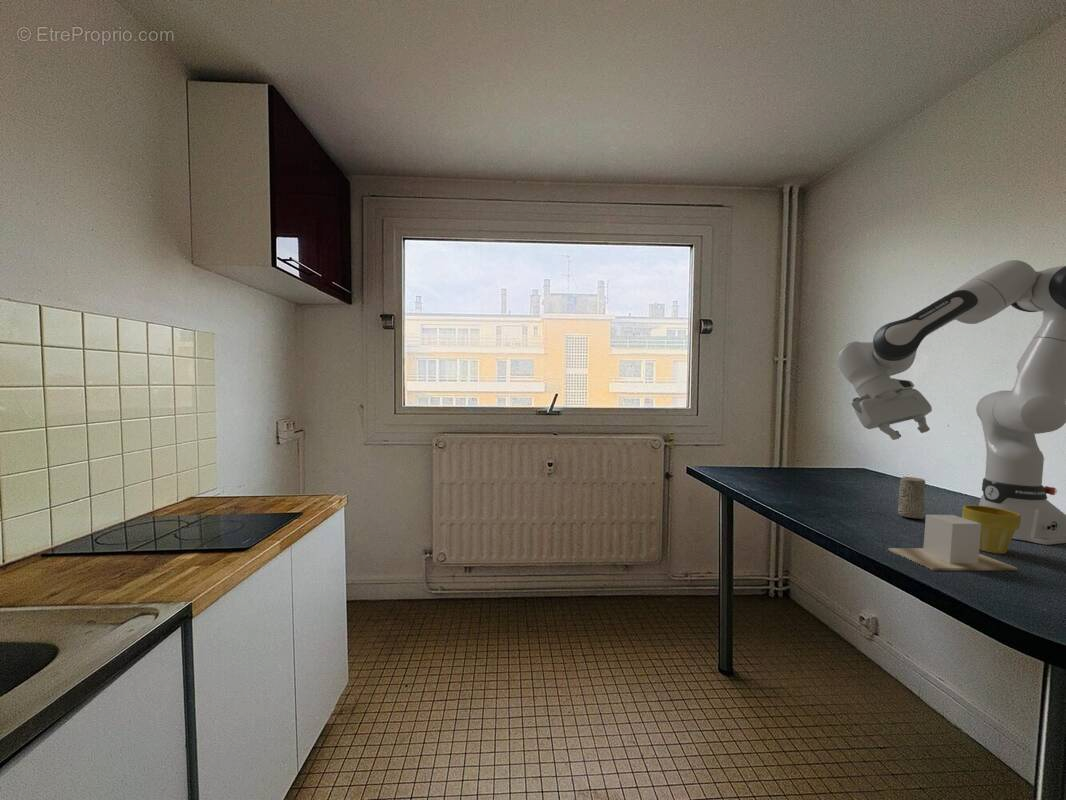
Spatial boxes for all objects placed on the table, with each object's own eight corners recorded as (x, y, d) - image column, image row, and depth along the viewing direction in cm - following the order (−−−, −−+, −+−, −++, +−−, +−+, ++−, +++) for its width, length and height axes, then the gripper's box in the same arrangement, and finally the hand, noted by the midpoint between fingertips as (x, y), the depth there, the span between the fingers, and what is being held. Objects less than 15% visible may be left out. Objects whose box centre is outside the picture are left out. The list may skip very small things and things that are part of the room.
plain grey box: (950, 552, 116) (952, 514, 115) (978, 563, 109) (981, 523, 108) (923, 552, 115) (925, 514, 115) (949, 563, 108) (952, 523, 108)
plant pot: (993, 543, 125) (996, 505, 124) (1029, 558, 114) (1033, 517, 114) (949, 540, 126) (952, 503, 125) (982, 555, 115) (985, 514, 115)
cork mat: (965, 550, 119) (965, 548, 119) (1017, 570, 107) (1017, 568, 107) (887, 550, 117) (887, 548, 117) (932, 570, 105) (932, 568, 105)
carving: (922, 516, 148) (925, 477, 147) (925, 522, 141) (928, 482, 141) (896, 513, 151) (898, 474, 150) (898, 518, 145) (901, 478, 144)
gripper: (855, 392, 131) (888, 436, 124) (916, 380, 135) (951, 421, 128) (841, 405, 136) (871, 448, 129) (900, 392, 141) (932, 433, 134)
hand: (911, 435), depth 129 cm, fingers open, 8 cm apart
